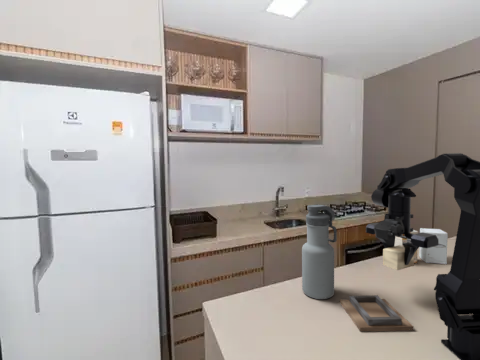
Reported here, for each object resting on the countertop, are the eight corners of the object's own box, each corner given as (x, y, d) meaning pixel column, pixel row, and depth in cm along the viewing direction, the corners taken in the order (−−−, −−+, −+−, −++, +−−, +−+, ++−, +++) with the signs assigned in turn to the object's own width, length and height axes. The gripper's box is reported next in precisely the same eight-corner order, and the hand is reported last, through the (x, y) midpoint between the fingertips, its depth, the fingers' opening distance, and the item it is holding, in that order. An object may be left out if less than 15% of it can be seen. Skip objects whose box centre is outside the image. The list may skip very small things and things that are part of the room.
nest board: (413, 330, 64) (413, 320, 63) (360, 331, 64) (360, 321, 64) (384, 302, 77) (384, 293, 76) (339, 302, 77) (339, 294, 76)
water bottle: (321, 282, 90) (320, 202, 88) (342, 295, 81) (342, 206, 79) (296, 288, 86) (295, 204, 84) (315, 303, 77) (315, 209, 75)
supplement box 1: (401, 265, 102) (402, 232, 102) (391, 261, 107) (392, 229, 106) (418, 263, 105) (418, 230, 104) (407, 258, 109) (408, 228, 108)
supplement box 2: (425, 263, 104) (426, 232, 103) (418, 256, 111) (419, 227, 111) (447, 264, 102) (448, 233, 101) (439, 258, 109) (439, 228, 108)
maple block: (399, 260, 82) (399, 245, 82) (413, 265, 78) (414, 249, 78) (382, 265, 79) (383, 248, 79) (397, 270, 75) (397, 253, 74)
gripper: (353, 208, 82) (353, 256, 83) (414, 219, 65) (413, 280, 66) (377, 205, 87) (377, 251, 88) (440, 215, 70) (438, 271, 71)
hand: (398, 262), depth 78 cm, fingers closed on maple block, 4 cm apart
